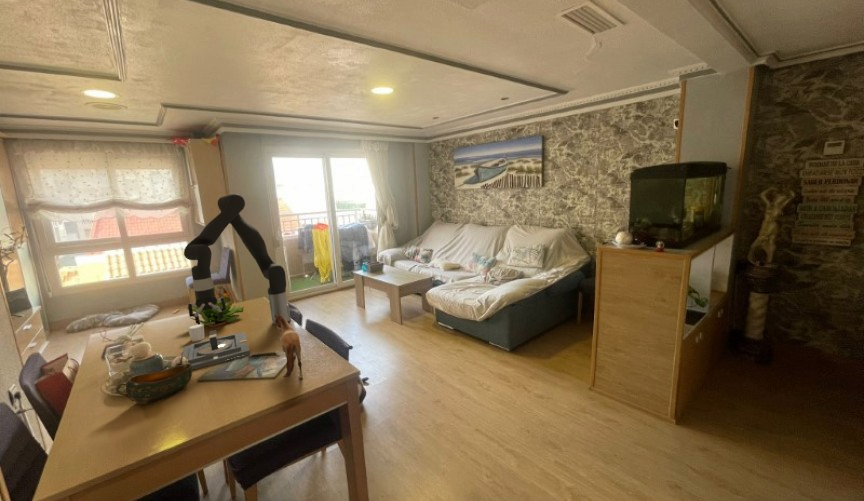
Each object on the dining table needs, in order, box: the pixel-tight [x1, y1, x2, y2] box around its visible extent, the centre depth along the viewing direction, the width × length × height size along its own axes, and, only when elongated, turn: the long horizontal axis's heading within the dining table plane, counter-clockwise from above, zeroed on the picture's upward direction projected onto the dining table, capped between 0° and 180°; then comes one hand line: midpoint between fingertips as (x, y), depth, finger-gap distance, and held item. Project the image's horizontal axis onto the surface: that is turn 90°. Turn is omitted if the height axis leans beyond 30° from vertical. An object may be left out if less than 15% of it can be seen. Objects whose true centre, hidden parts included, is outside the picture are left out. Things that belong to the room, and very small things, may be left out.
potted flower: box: [186, 292, 245, 328], centre depth 198 cm, size 25×24×18 cm
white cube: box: [187, 323, 205, 342], centre depth 180 cm, size 7×7×7 cm
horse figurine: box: [274, 314, 304, 379], centre depth 140 cm, size 31×8×21 cm, turn 26°
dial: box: [197, 329, 233, 355], centre depth 162 cm, size 14×14×7 cm
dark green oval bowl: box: [115, 364, 193, 406], centre depth 129 cm, size 13×20×10 cm, turn 109°
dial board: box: [181, 331, 250, 370], centre depth 163 cm, size 26×26×4 cm
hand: (210, 321), depth 160 cm, fingers open, 8 cm apart
